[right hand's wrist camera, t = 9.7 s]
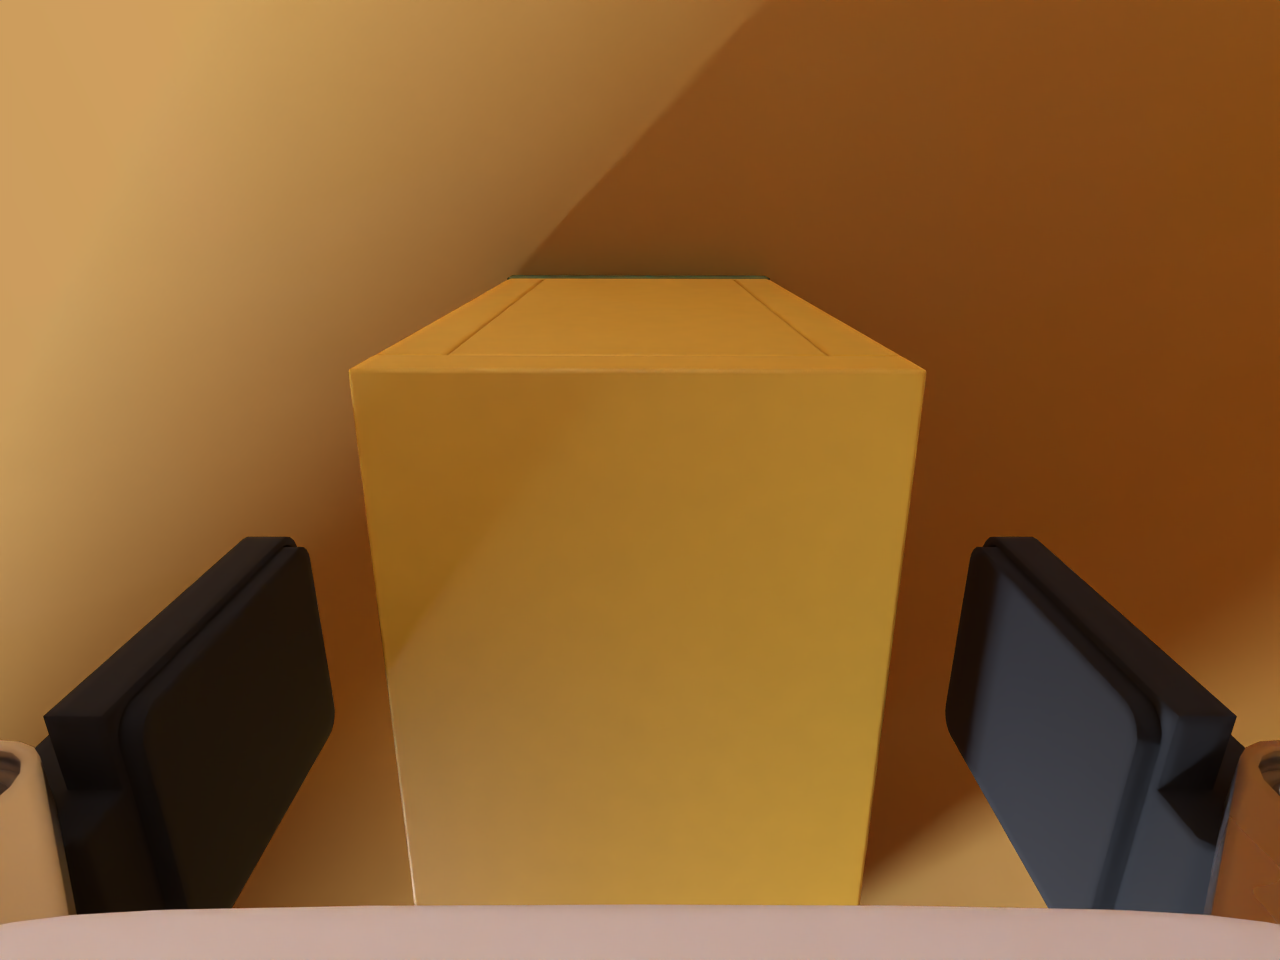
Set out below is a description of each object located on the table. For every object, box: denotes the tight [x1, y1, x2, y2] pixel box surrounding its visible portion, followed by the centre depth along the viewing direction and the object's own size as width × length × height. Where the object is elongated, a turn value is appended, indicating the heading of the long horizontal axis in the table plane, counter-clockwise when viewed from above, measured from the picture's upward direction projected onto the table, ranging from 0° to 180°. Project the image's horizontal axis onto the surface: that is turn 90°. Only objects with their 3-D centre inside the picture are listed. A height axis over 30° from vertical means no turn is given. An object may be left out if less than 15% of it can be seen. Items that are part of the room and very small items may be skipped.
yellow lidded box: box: [349, 275, 926, 906], centre depth 16 cm, size 16×6×12 cm, turn 0°
